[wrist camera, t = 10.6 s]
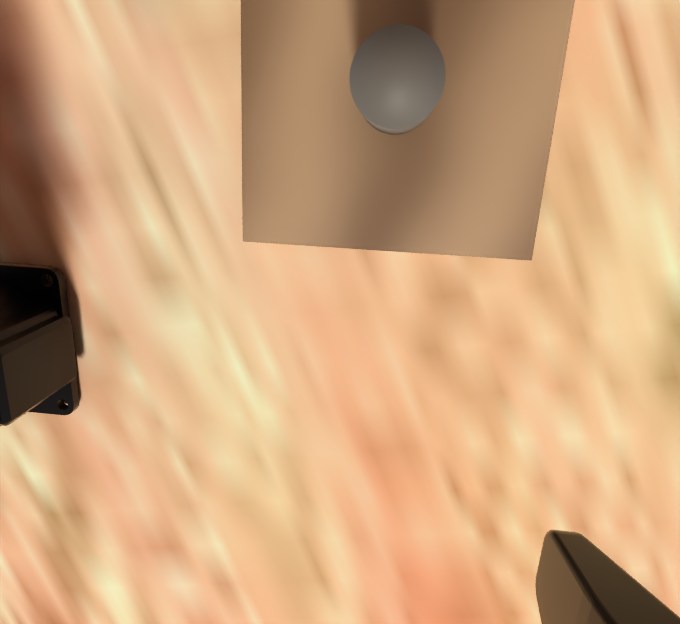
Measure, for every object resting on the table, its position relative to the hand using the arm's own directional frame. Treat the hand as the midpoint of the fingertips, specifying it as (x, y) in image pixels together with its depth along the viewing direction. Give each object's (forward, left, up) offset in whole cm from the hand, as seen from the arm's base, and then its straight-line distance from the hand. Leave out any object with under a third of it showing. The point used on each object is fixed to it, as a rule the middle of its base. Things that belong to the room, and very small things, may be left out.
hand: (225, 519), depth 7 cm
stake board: (+2, +7, -13) cm, 15 cm away
